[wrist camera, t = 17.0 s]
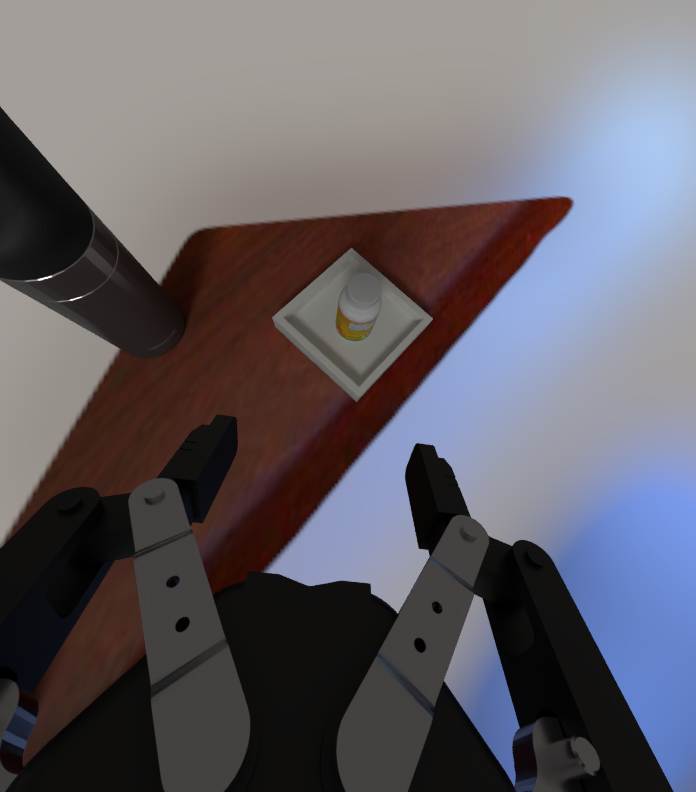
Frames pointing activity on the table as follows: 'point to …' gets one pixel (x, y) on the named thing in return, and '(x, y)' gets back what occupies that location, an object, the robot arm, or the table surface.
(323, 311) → the tray
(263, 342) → the table surface
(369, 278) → the supplement bottle
